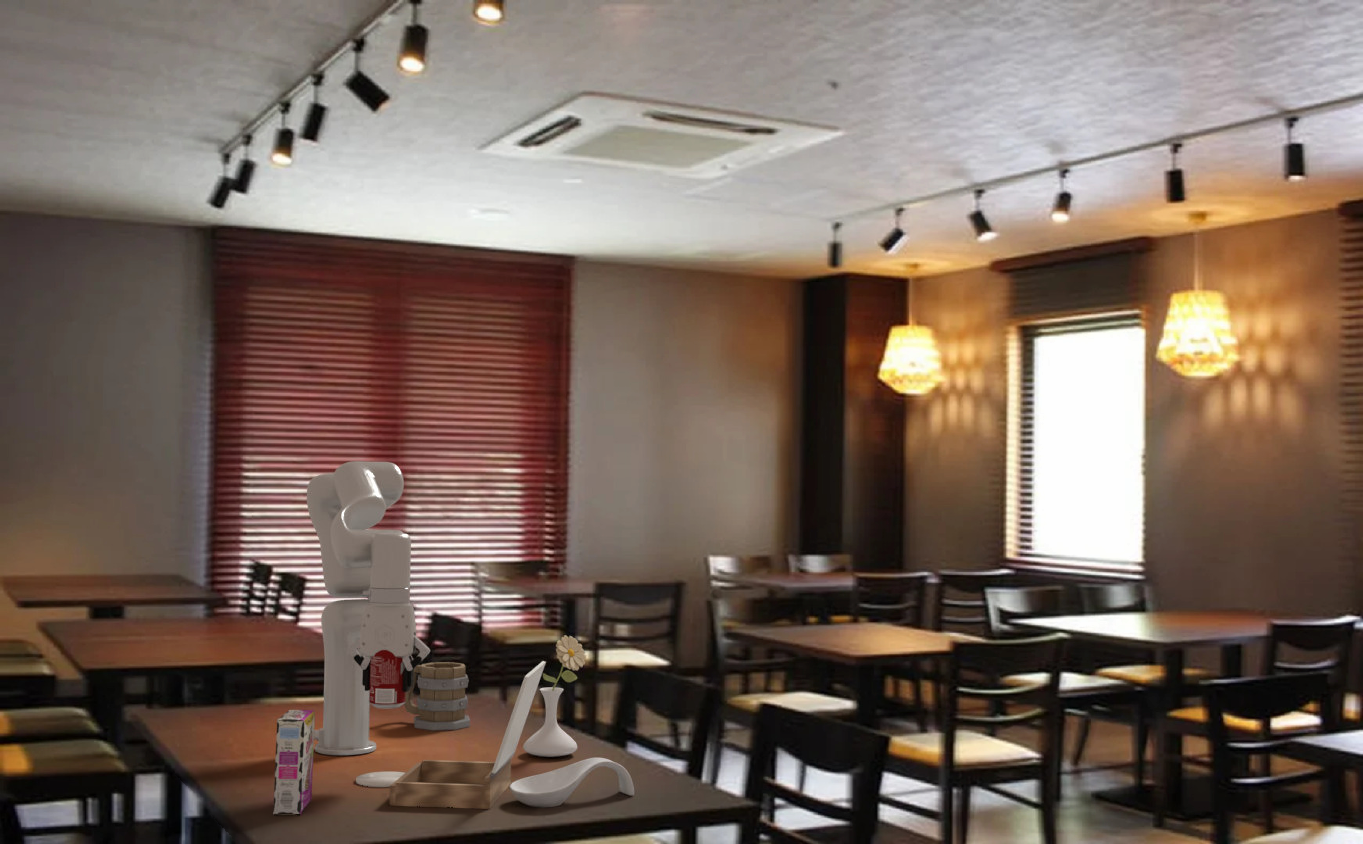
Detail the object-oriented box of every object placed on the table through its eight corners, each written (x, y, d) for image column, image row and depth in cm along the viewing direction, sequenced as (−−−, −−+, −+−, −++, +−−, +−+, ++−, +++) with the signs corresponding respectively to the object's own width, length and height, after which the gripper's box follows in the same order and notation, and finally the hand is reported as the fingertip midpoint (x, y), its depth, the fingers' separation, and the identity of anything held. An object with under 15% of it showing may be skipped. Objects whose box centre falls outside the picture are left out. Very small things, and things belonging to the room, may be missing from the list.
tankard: (480, 724, 330) (481, 660, 330) (443, 732, 319) (445, 666, 320) (417, 715, 341) (418, 653, 341) (379, 722, 330) (381, 658, 330)
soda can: (396, 710, 266) (398, 646, 267) (363, 708, 267) (364, 644, 268) (410, 704, 273) (412, 642, 273) (377, 702, 274) (379, 640, 275)
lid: (524, 676, 250) (528, 677, 250) (542, 660, 270) (546, 662, 270) (489, 777, 249) (493, 778, 249) (510, 754, 269) (514, 756, 269)
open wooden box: (389, 805, 250) (390, 775, 251) (417, 780, 270) (418, 752, 271) (489, 809, 249) (490, 778, 249) (510, 783, 269) (511, 755, 269)
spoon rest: (525, 815, 246) (526, 774, 246) (498, 801, 256) (499, 761, 257) (643, 801, 258) (644, 761, 259) (613, 788, 269) (614, 750, 269)
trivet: (348, 786, 265) (348, 783, 265) (365, 773, 276) (365, 770, 276) (406, 788, 264) (406, 785, 264) (420, 775, 275) (420, 772, 275)
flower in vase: (534, 762, 289) (537, 640, 290) (515, 752, 299) (517, 633, 300) (593, 757, 295) (595, 637, 296) (571, 747, 305) (574, 631, 306)
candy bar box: (302, 816, 242) (304, 720, 243) (272, 816, 242) (275, 719, 242) (313, 800, 253) (316, 708, 254) (285, 800, 253) (287, 708, 253)
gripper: (339, 597, 268) (337, 692, 267) (429, 599, 267) (427, 694, 266) (351, 594, 275) (349, 686, 275) (439, 596, 274) (437, 688, 273)
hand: (387, 689), depth 270 cm, fingers closed on soda can, 6 cm apart
